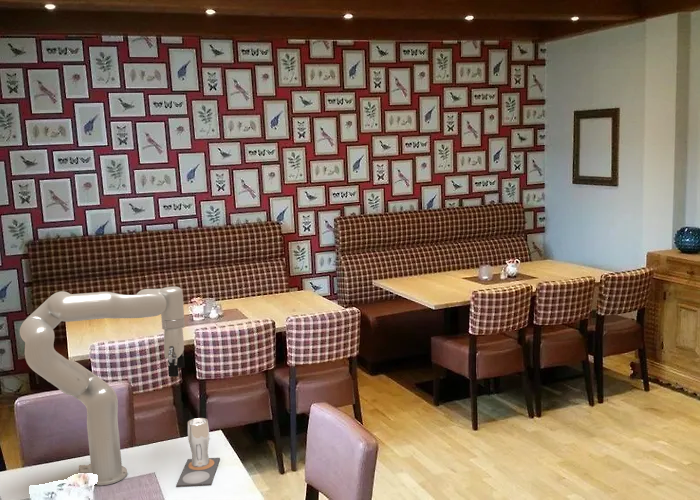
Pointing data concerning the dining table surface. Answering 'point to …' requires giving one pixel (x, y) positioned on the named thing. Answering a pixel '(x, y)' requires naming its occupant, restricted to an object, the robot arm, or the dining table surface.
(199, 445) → the beer glass
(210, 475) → the mat
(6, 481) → the dining table surface
